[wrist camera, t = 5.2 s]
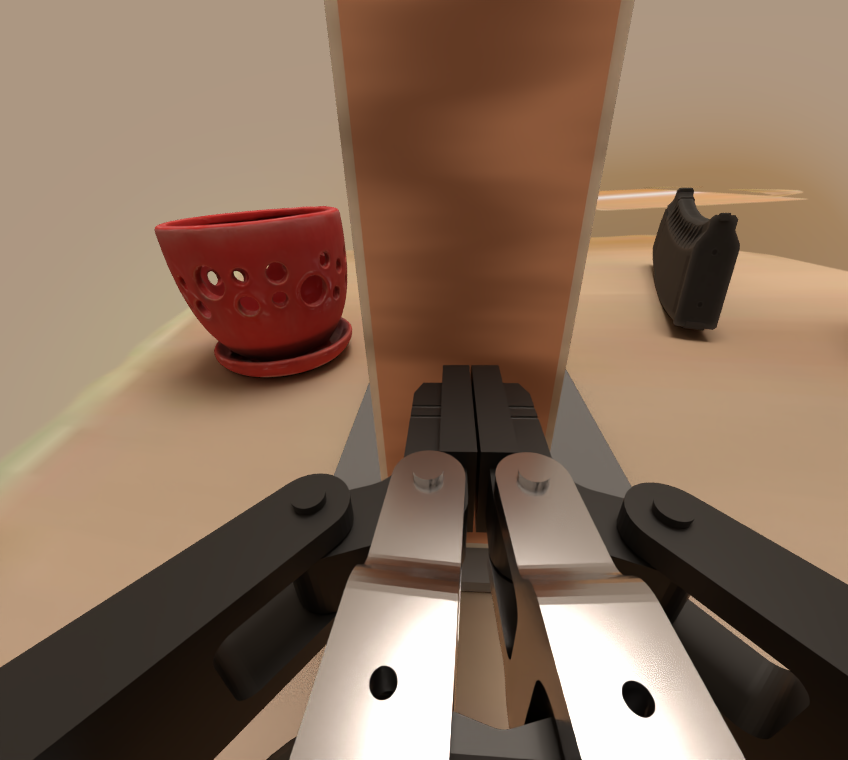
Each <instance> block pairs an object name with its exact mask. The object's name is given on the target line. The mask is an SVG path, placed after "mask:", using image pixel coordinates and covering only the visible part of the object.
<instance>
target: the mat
mask: <svg viewBox="0 0 848 760" xmlns="http://www.w3.org/2000/svg"><path fill="white" fill-rule="evenodd" d="M550 453H551V456H552V459H554V460H555V461H557V462H558V463H560V464H561V465H562V466H563V467H565V469H566V470H567V471H568V472H569V474H570V475H571V477H572V479H573V481H574V482H575V483H577V484H579V485H581V486H583V487H585V488H588V489H591V490H594V491H598V492H602V493H606V494H609V495H613V496H617V497H621V498H624V497H625V494H626V492H627V491H628V490H629V489H630V488H631V485H630V483H629V481H628V479H627V478H626V476H625V474H624V472H623V471H622V469H621V467H620V465H619V463H618V462H617V460H616V458H615V456H614V454H613V453H612V451H611V449H610V447H609V445H608V444H607V442H606V440H605V438H604V436H603V435H602V433H601V431H600V429H599V428H598V426H597V424H596V422H595V420H594V419H593V417H592V415H591V413H590V411H589V410H588V408H587V406H586V404H585V402H584V401H583V399H582V397H581V395H580V393H579V392H578V390H577V388H576V386H575V384H574V383H573V381H572V379H571V377H570V376H569V374H568V372H567V370H565V375H564V380H563V386H562V391H561V396H560V402H559V407H558V412H557V418H556V423H555V429H554V434H553V439H552V445H551V450H550ZM334 476H336V477H338V478H340V479H341V480H343V481H344V482H345V483H346V485H347V486H348V489H349V490H351V489H355V488H360V487H364V486H368V485H372V484H375V483H378V482H380V481H381V475H380V466H379V458H378V449H377V441H376V433H375V424H374V416H373V408H372V399H371V391H370V382H369V385H368V387H367V390H366V392H365V395H364V398H363V400H362V403H361V406H360V408H359V411H358V413H357V416H356V419H355V421H354V424H353V427H352V429H351V432H350V434H349V437H348V440H347V442H346V445H345V448H344V450H343V453H342V455H341V458H340V461H339V463H338V466H337V469H336V471H335V474H334ZM487 559H488V548H470V547H466V556H465V560H464V562H463V564H462V580H461V591H476V592H491V587H490V581H489V575H488V569H487Z"/></svg>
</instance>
